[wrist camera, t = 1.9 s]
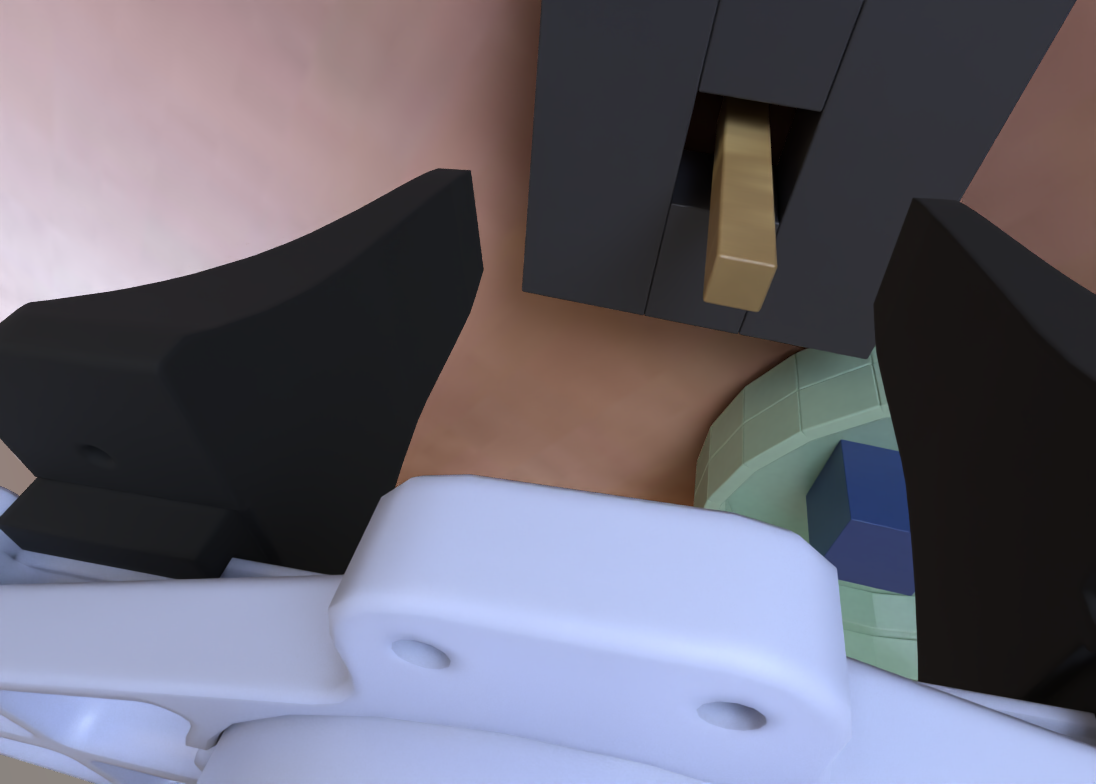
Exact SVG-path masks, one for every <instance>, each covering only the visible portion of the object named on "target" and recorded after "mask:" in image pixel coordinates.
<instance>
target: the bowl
mask: <svg viewBox="0 0 1096 784" xmlns="http://www.w3.org/2000/svg"><path fill="white" fill-rule="evenodd" d="M841 439H843V440H847V441H852V442H857V443H862V444H866V445H871V446H876V447H881V448H885V449H890V450H895V451H899V449H898V445H897V441H896V437H895V432H894V428H893V424H892V420H891V416H890V411H889V407H888V403H887V399H886V395H885V391H884V386H883V382H882V377H881V373H880V369H879V364H878V359H877V355H876V345H875V347H874V349H873V350H872V352H871V354H870V356H869V357H868V359H861V358H856V357H851V356H846V355H841V354H836V353H831V352H826V351H821V350H816V349H811V348H807V349H805V350H802V351H799V352H797V353H796V354H793V355H792V356H790V357H789V358H787V359H786V360H784V361H783V362H781V363H780V364H778V365H777V366H775V367H774V368H772V369H771V370H769V371H768V372H766V373H765V374H763V375H762V376H760V377H759V378H757V379H756V380H754V381H753V382H751V383H750V384H748V385H747V386H745V388H744V389H742V391H741V392H740V393H739V394H738V395H737V396H736V397H735V399H734V400H733V401H732V402H731V403H730V404H729V405H728V407H727V408H726V409H725V410H724V411H723V412H722V414H721V415H720V416H719V417H718V418H717V419H716V420H715V422H714V423H713V424H712V425H711V427H710V429H709V432H708V434H707V437H706V439H705V442H704V445H703V447H702V450H701V452H700V455H699V457H698V460H697V464H696V478H695V492H694V506H693V507H699V508H706V509H713V510H720V511H727V512H733V513H737V514H740V515H743V516H746V517H750V518H753V519H756V520H759V521H762V522H766V523H769V524H772V525H775V526H779V527H782V528H785V529H788V530H791V531H792V532H794V533H796V534H798V535H799V536H801V537H802V538H803V539H804V540H805V541H806V542H807V543H809V532H808V519H807V506H806V495H807V493H808V492H809V490H810V488H811V487H812V485H813V483H814V482H815V480H816V479H817V477H818V475H819V474H820V472H821V470H822V469H823V467H824V466H825V464H826V462H827V461H828V459H829V457H830V456H831V454H832V453H833V451H834V449H835V448H836V446H837V445H838V443H839V441H840V440H841ZM838 584H839V594H840V604H841V613H842V623H843V632H844V642H845V651H846V656H848V657H850V658H853V659H856V660H859V661H861V662H864V663H867V664H870V665H872V666H875V667H878V668H881V669H883V670H886V671H889V672H892V673H894V674H897V675H900V676H903V677H905V678H908V679H911V680H914V681H918V652H917V628H916V605H915V593H914V594H913V595H912V596H908V595H903V594H899V593H895V592H890V591H886V590H881V589H877V588H873V587H868V586H864V585H859V584H855V583H851V582H846V581H842V580H838Z"/></svg>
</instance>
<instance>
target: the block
mask: <svg viewBox="0 0 1096 784" xmlns="http://www.w3.org/2000/svg"><path fill="white" fill-rule="evenodd" d="M806 506H807V519H808V532H809V544H810V545H811V546H812V547H813V548H814V549H815V550H817V551H818V552H819V553H820V554H821V555H822V556H823V557H825V558H826V559H827V560H828V561H829V562H830V563H831V564H833V565H834V566H835V567H836V568H837V575H838V580H842V581H846V582H851V583H855V584H859V585H864V586H868V587H873V588H877V589H881V590H886V591H890V592H895V593H899V594H903V595H908V596H912V595H913V594H914V593H915V586H914V572H913V558H912V545H911V532H910V522H909V513H908V503H907V493H906V484H905V478H904V473H903V467H902V462H901V457H900V453H899V451H895V450H890V449H885V448H881V447H876V446H871V445H866V444H862V443H857V442H852V441H847V440H843V439H841V440H840V441H839V443H838V445H837V446H836V448H835V449H834V451H833V453H832V454H831V456H830V457H829V459H828V461H827V462H826V464H825V466H824V467H823V469H822V470H821V472H820V474H819V475H818V477H817V479H816V480H815V482H814V483H813V485H812V487H811V488H810V490H809V492H808V493H807V495H806Z"/></svg>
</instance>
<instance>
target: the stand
mask: <svg viewBox="0 0 1096 784" xmlns="http://www.w3.org/2000/svg"><path fill="white" fill-rule="evenodd" d="M1075 2H1076V0H542V3H541V18H540V32H539V47H538V62H537V77H536V91H535V106H534V121H533V135H532V150H531V165H530V180H529V194H528V209H527V224H526V238H525V253H524V268H523V283H522V291H523V292H528V293H533V294H538V295H543V296H548V297H554V298H559V299H564V300H569V301H574V302H579V303H584V304H589V305H594V306H599V307H604V308H609V309H614V310H619V311H624V312H629V313H634V314H639V315H644V314H645V316H649V317H654V318H659V319H664V320H669V321H674V322H679V323H684V324H689V325H695V326H700V327H705V328H710V329H715V330H720V331H725V332H730V333H735V334H738V332H739V334H741V335H746V336H751V337H756V338H761V339H766V340H771V341H776V342H781V343H786V344H791V345H796V346H801V347H806V348H811V349H816V350H821V351H826V352H831V353H836V354H841V355H846V356H851V357H856V358H861V359H868V357H869V356H870V354H871V352H872V350H873V349H874V347H875V345H876V343H875V329H874V307H873V304H874V301H875V298H876V296H877V293H878V290H879V288H880V285H881V282H882V279H883V277H884V274H885V271H886V269H887V266H888V263H889V261H890V258H891V255H892V253H893V250H894V247H895V244H896V242H897V239H898V236H899V234H900V231H901V228H902V226H903V223H904V220H905V218H906V215H907V212H908V209H909V207H910V204H911V201H912V199H913V197H914V198H930V199H946V200H957V201H958V202H959V201H960V199H961V198H962V196H963V194H964V193H965V191H966V189H967V187H968V186H969V184H970V182H971V181H972V179H973V177H974V175H975V174H976V172H977V170H978V169H979V167H980V165H981V163H982V162H983V160H984V158H985V157H986V155H987V153H988V151H989V150H990V148H991V146H992V144H993V143H994V141H995V139H996V138H997V136H998V134H999V132H1000V131H1001V129H1002V127H1003V126H1004V124H1005V122H1006V120H1007V119H1008V117H1009V115H1010V114H1011V112H1012V110H1013V108H1014V107H1015V105H1016V103H1017V102H1018V100H1019V98H1020V96H1021V95H1022V93H1023V91H1024V90H1025V88H1026V86H1027V84H1028V83H1029V81H1030V79H1031V78H1032V76H1033V74H1034V72H1035V71H1036V69H1037V67H1038V66H1039V64H1040V62H1041V60H1042V59H1043V57H1044V55H1045V54H1046V52H1047V50H1048V48H1049V47H1050V45H1051V43H1052V41H1053V40H1054V38H1055V36H1056V35H1057V33H1058V31H1059V29H1060V28H1061V26H1062V24H1063V23H1064V21H1065V19H1066V17H1067V16H1068V14H1069V12H1070V11H1071V9H1072V7H1073V5H1074V4H1075ZM697 91H700V92H704V93H710V94H716V95H722V96H728V97H734V98H740V99H746V100H752V101H758V102H764V103H770V104H776V105H782V106H788V107H794V108H797V109H796V112H795V115H794V118H793V121H792V123H791V126H790V129H789V132H788V135H787V138H786V141H785V143H784V146H783V149H782V152H781V155H780V158H779V161H778V163H777V166H775V165H772V177H773V196H774V214H775V233H776V251H777V270H776V272H775V275H774V277H773V280H772V282H771V285H770V287H769V290H768V292H767V295H766V297H765V300H764V302H763V305H762V307H761V309H760V311H759V312H752V311H747V310H742V309H737V308H732V307H727V306H722V305H717V304H712V303H706V302H704V301H703V289H704V276H705V264H706V251H707V239H708V226H709V214H710V201H711V189H712V177H713V164H714V155H712V154H707V153H701V152H695V151H690V150H684V145H685V141H686V137H687V132H688V128H689V124H690V120H691V116H692V111H693V107H694V103H695V99H696V95H697Z"/></svg>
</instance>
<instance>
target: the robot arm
mask: <svg viewBox="0 0 1096 784" xmlns="http://www.w3.org/2000/svg"><path fill="white" fill-rule="evenodd" d="M483 270H484V269H483V261H482V253H481V246H480V238H479V230H478V222H477V214H476V207H475V199H474V191H473V183H472V176H471V170H456V169H439V168H438V169H435V170H432V171H430V172H427V173H425V174H423V175H421V176H419V177H417V178H415V179H413V180H411V181H409V182H407V183H405V184H404V185H402V186H400V187H398V188H396V189H394V190H393V191H391V192H389V193H387V194H385V195H384V196H382V197H380V198H378V199H376V200H374V201H373V202H371V203H369V204H367V205H365V206H363V207H362V208H360V209H358V210H356V211H354V212H352V213H350V214H348V215H346V216H344V217H342V218H340V219H338V220H336V221H334V222H332V223H330V224H328V225H326V226H324V227H322V228H320V229H318V230H316V231H314V232H312V233H310V234H307V235H305V236H303V237H301V238H298V239H296V240H293V241H291V242H289V243H286V244H284V245H281V246H278V247H276V248H273V249H271V250H268V251H265V252H263V253H260V254H257V255H254V256H251V257H249V258H245V259H242V260H239V261H235V262H232V263H229V264H225V265H222V266H219V267H215V268H212V269H208V270H205V271H202V272H198V273H195V274H191V275H187V276H183V277H179V278H174V279H170V280H166V281H161V282H157V283H152V284H147V285H142V286H137V287H132V288H127V289H121V290H115V291H110V292H103V293H96V294H89V295H82V296H75V297H68V298H61V299H54V300H46V301H37V302H30V303H27V304H25V305H23V306H22V307H20V308H19V309H17V310H16V311H15V312H13V313H12V314H11V315H10V316H8V317H7V318H6V319H5V320H3V321H2V322H1V323H0V439H1V440H2V441H3V442H4V443H5V444H6V445H7V446H8V447H9V449H10V450H11V451H12V452H13V453H14V454H15V455H16V456H17V457H18V458H19V459H20V461H21V462H22V463H23V464H24V465H25V466H26V467H27V468H28V469H29V470H30V471H31V472H32V473H33V475H34V476H35V477H37V478H36V480H34V482H33V483H32V484H31V485H30V486H29V487H28V488H27V489H26V490H25V491H24V492H23V493H22V494H21V495H20V496H19V495H18V494H16V493H14V492H12V491H10V490H8V489H6V488H4V487H2V486H0V754H1V755H4V756H8V757H11V758H14V759H18V760H21V761H24V762H28V763H31V764H34V765H37V766H40V767H43V768H47V769H50V770H53V771H57V772H60V773H63V774H66V775H69V776H73V777H76V778H79V779H82V780H85V781H88V782H91V783H95V784H1096V295H1095V294H1094V293H1092V292H1090V291H1089V290H1087V289H1086V288H1084V287H1082V286H1081V285H1079V284H1078V283H1076V282H1074V281H1073V280H1071V279H1070V278H1068V277H1067V276H1065V275H1064V274H1062V273H1061V272H1059V271H1058V270H1056V269H1055V268H1054V267H1052V266H1051V265H1049V264H1048V263H1046V262H1045V261H1043V260H1042V259H1041V258H1039V257H1038V256H1036V255H1035V254H1034V253H1032V252H1031V251H1029V250H1028V249H1027V248H1025V247H1024V246H1023V245H1021V244H1020V243H1018V242H1017V241H1016V240H1014V239H1013V238H1012V237H1010V236H1009V235H1007V234H1006V233H1005V232H1003V231H1002V230H1001V229H999V228H998V227H997V226H995V225H994V224H992V223H991V222H990V221H988V220H987V219H985V218H984V217H983V216H981V215H980V214H978V213H977V212H975V211H974V210H972V209H971V208H969V207H968V206H966V205H964V204H962V203H960V202H958V201H957V200H946V199H930V198H914V197H913V199H912V201H911V204H910V207H909V209H908V212H907V215H906V218H905V220H904V223H903V226H902V228H901V231H900V234H899V236H898V239H897V242H896V244H895V247H894V250H893V253H892V255H891V258H890V261H889V263H888V266H887V269H886V271H885V274H884V277H883V279H882V282H881V285H880V288H879V290H878V293H877V296H876V298H875V301H874V304H873V307H874V329H875V343H876V355H877V359H878V364H879V369H880V373H881V377H882V382H883V386H884V391H885V395H886V399H887V403H888V407H889V411H890V416H891V420H892V424H893V428H894V432H895V437H896V441H897V445H898V449H899V453H900V457H901V462H902V467H903V473H904V478H905V484H906V493H907V503H908V513H909V522H910V532H911V545H912V558H913V572H914V586H915V605H916V628H917V652H918V681H914V680H911V679H908V678H905V677H903V676H900V675H897V674H894V673H892V672H889V671H886V670H883V669H881V668H878V667H875V666H872V665H870V664H867V663H864V662H861V661H859V660H856V659H853V658H850V657H848V656H846V651H845V642H844V632H843V623H842V613H841V604H840V594H839V584H838V575H837V568H836V567H835V566H834V565H833V564H831V563H830V562H829V561H828V560H827V559H826V558H825V557H823V556H822V555H821V554H820V553H819V552H818V551H817V550H815V549H814V548H813V547H812V546H811V545H810V544H809V543H807V542H806V541H805V540H804V539H803V538H802V537H801V536H799V535H798V534H796V533H794V532H792V531H791V530H788V529H785V528H782V527H779V526H775V525H772V524H769V523H766V522H762V521H759V520H756V519H753V518H750V517H746V516H743V515H740V514H737V513H733V512H727V511H720V510H713V509H706V508H699V507H692V506H685V505H678V504H672V503H665V502H658V501H651V500H644V499H637V498H630V497H624V496H617V495H610V494H603V493H596V492H589V491H582V490H576V489H569V488H562V487H555V486H548V485H541V484H534V483H528V482H521V481H514V480H507V479H500V478H493V477H486V476H480V475H473V474H460V475H428V476H418V477H412V478H410V479H409V480H407V481H406V482H404V483H402V484H401V485H399V486H398V487H396V488H395V486H396V483H397V479H398V476H399V473H400V470H401V467H402V464H403V461H404V458H405V455H406V453H407V450H408V447H409V444H410V441H411V439H412V436H413V433H414V430H415V427H416V424H417V422H418V419H419V417H420V415H421V412H422V410H423V408H424V406H425V403H426V401H427V399H428V397H429V395H430V393H431V391H432V389H433V387H434V385H435V383H436V381H437V379H438V377H439V375H440V373H441V371H442V369H443V367H444V365H445V363H446V361H447V359H448V357H449V355H450V353H451V351H452V349H453V347H454V345H455V343H456V341H457V339H458V337H459V335H460V333H461V331H462V329H463V327H464V325H465V323H466V320H467V318H468V316H469V314H470V312H471V309H472V306H473V303H474V300H475V297H476V293H477V290H478V287H479V283H480V280H481V277H482V273H483Z"/></svg>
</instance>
